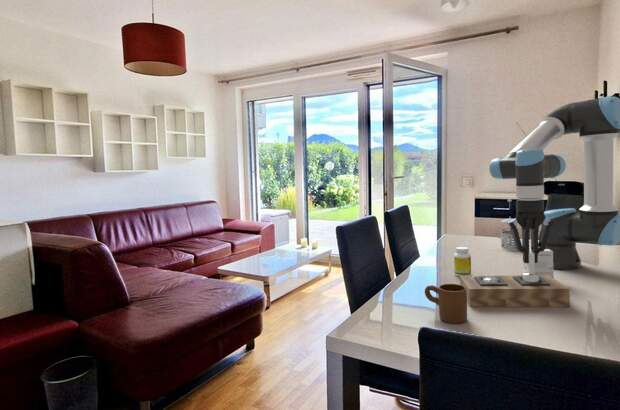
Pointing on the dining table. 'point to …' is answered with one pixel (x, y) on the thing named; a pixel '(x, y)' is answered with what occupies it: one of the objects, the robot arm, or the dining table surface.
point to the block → (516, 292)
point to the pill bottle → (462, 262)
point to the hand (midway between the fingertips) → (530, 272)
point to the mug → (450, 302)
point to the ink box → (544, 263)
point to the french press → (506, 234)
